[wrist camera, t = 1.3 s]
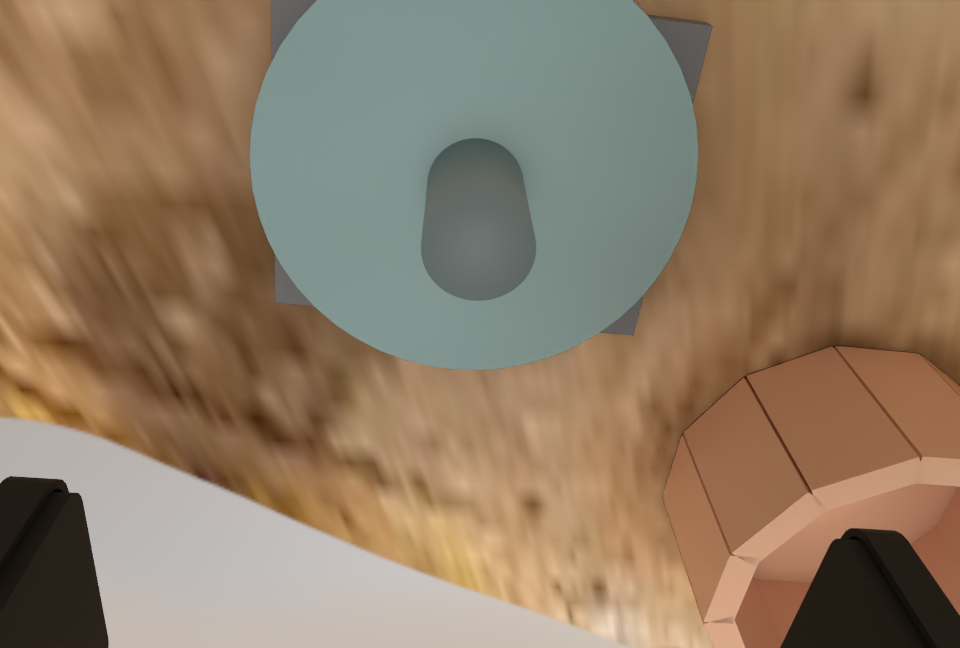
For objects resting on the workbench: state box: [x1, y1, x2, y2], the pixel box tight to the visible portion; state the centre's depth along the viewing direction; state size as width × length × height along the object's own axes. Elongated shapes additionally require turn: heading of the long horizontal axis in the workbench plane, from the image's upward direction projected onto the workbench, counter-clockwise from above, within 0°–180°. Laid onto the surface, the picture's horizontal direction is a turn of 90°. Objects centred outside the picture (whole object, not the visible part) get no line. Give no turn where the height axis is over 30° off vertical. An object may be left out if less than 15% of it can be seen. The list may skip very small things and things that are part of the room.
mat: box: [271, 0, 713, 335], centre depth 23 cm, size 12×10×1 cm
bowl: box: [663, 346, 960, 648], centre depth 28 cm, size 12×12×6 cm
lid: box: [250, 0, 698, 370], centre depth 21 cm, size 13×13×5 cm
